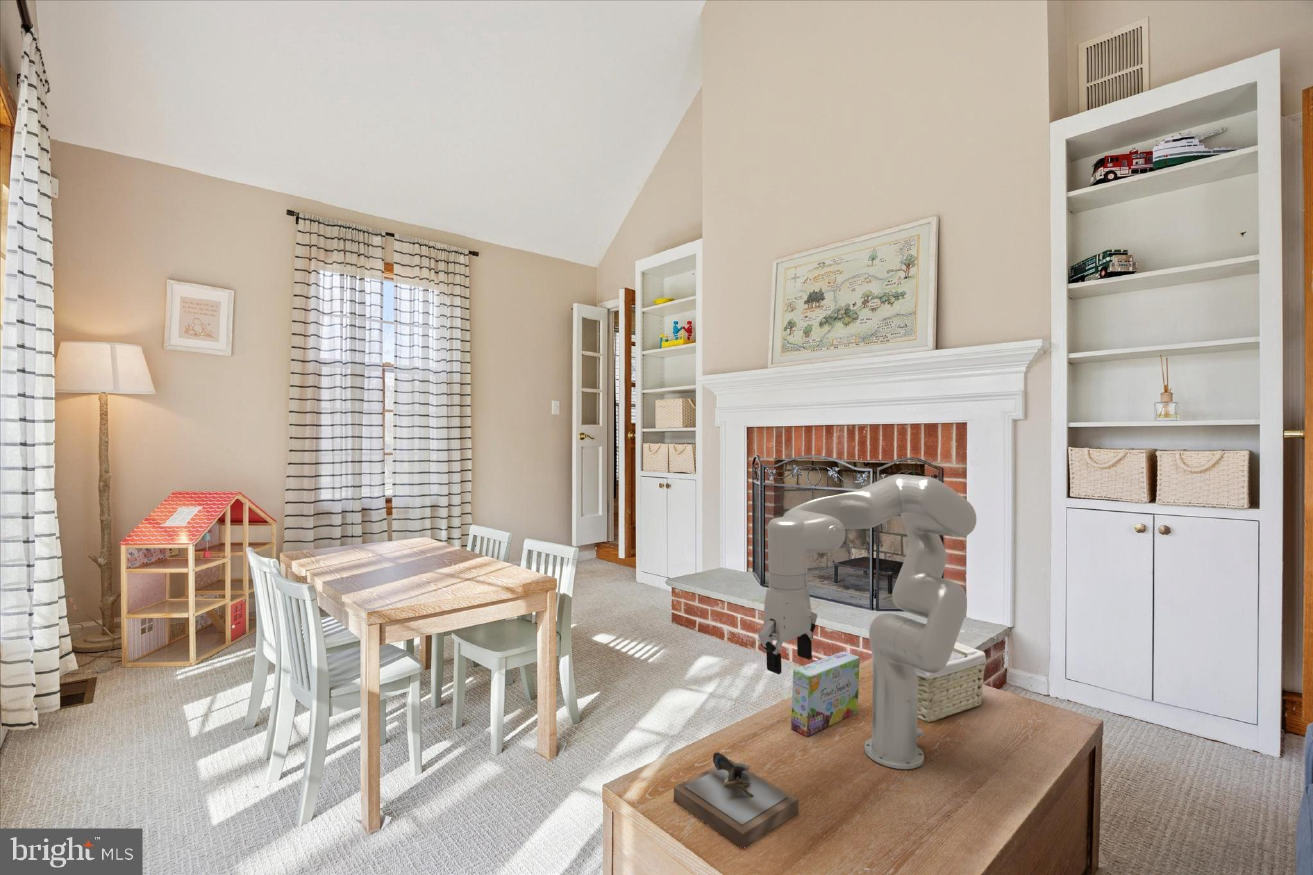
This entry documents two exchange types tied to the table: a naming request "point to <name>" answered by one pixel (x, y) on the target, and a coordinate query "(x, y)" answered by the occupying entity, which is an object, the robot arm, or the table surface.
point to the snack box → (825, 692)
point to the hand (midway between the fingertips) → (789, 664)
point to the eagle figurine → (732, 772)
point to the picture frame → (736, 805)
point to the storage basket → (951, 685)
